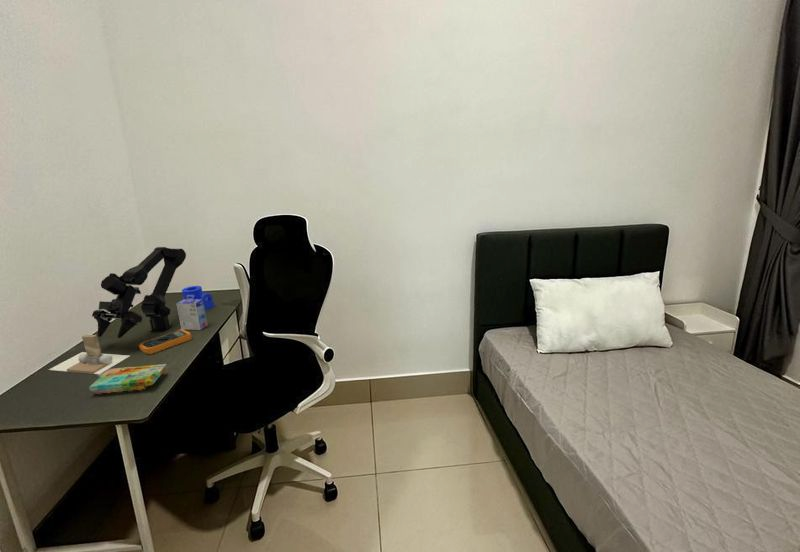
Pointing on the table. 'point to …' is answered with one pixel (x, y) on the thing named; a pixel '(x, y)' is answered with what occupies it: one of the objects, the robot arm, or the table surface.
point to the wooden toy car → (92, 349)
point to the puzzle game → (127, 379)
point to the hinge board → (82, 366)
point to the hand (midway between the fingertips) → (108, 337)
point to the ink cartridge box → (192, 313)
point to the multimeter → (165, 341)
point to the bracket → (198, 295)
